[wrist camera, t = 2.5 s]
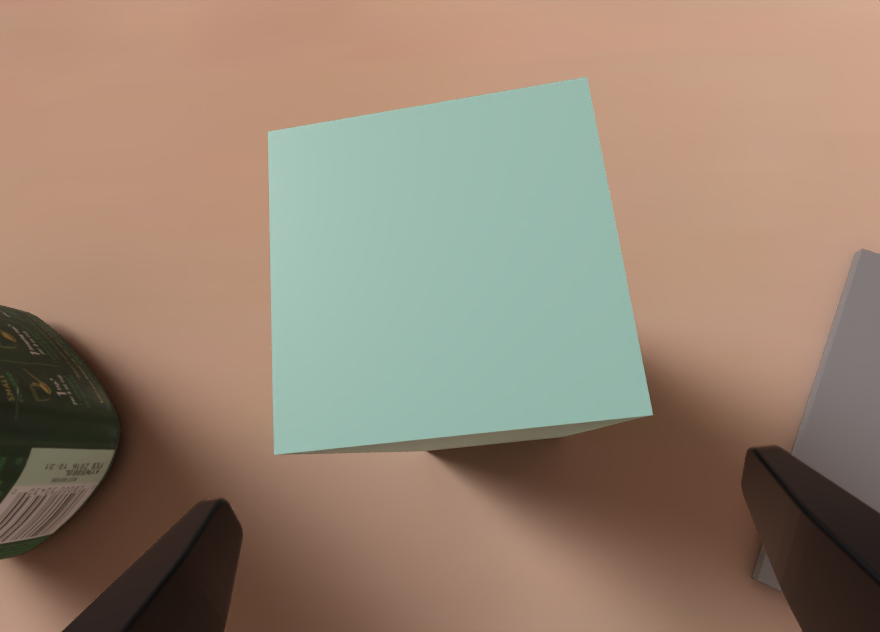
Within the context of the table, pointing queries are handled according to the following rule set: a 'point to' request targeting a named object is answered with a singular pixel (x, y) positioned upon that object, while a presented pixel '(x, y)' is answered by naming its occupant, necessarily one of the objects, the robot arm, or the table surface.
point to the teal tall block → (448, 278)
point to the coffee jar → (47, 432)
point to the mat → (845, 398)
